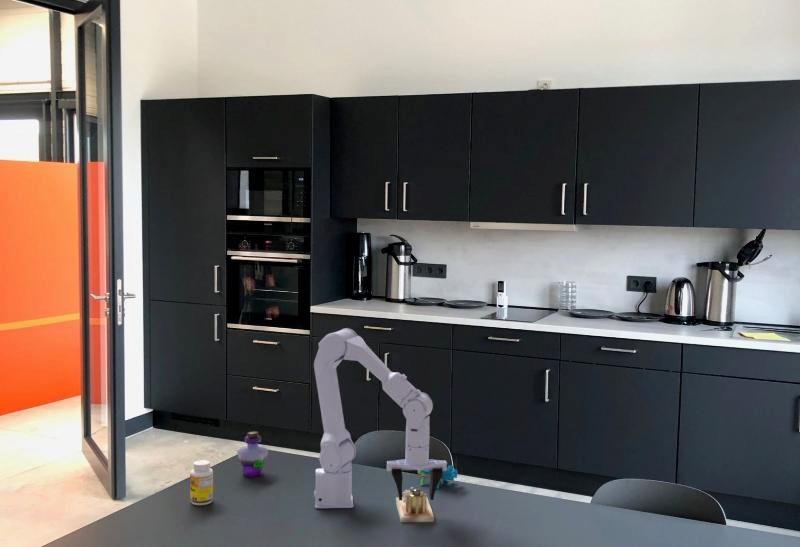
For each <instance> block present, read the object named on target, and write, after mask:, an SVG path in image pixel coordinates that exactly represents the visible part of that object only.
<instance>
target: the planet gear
mask: <svg viewBox="0 0 800 547" xmlns="http://www.w3.org/2000/svg"><path fill="white" fill-rule="evenodd" d="M426 497H427V498H428V496H427V494H426V493H425V492H424V491H421V489H420V488H417V487H416V488H414V489H412V492H407V494H406V511H408V513H410V514H411V513H414V514H419V513H425V511H426Z"/></svg>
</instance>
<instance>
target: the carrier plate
mask: <svg viewBox="0 0 800 547" xmlns="http://www.w3.org/2000/svg"><path fill="white" fill-rule="evenodd" d="M395 503H396V508H397V512H398V517H399V520H400V522H401V523H433V522H435V516H434V513H433V511H432V507H431V504H430V501H429V499H428V496H427V497H426V511H425V513H419V514H414V513H411V514H410V513H408V511H406V503H405V501H403V496H402V500H399V497H395Z"/></svg>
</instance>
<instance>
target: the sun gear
mask: <svg viewBox="0 0 800 547" xmlns="http://www.w3.org/2000/svg"><path fill="white" fill-rule="evenodd" d="M414 488H417V487H415V486H410V487H409V489H405V490H403V491H402V497H403V501H405V503H406V494H407V492H412V489H414Z"/></svg>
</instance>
